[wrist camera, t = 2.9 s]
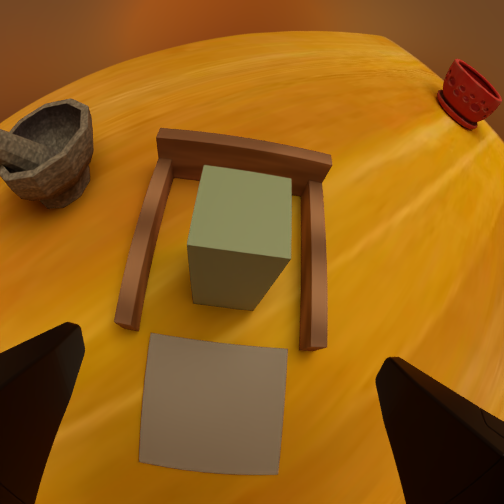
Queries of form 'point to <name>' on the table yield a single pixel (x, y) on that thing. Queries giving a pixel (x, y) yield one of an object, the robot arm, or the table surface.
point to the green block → (238, 236)
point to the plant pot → (467, 95)
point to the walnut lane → (248, 159)
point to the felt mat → (213, 406)
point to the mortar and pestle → (49, 153)
